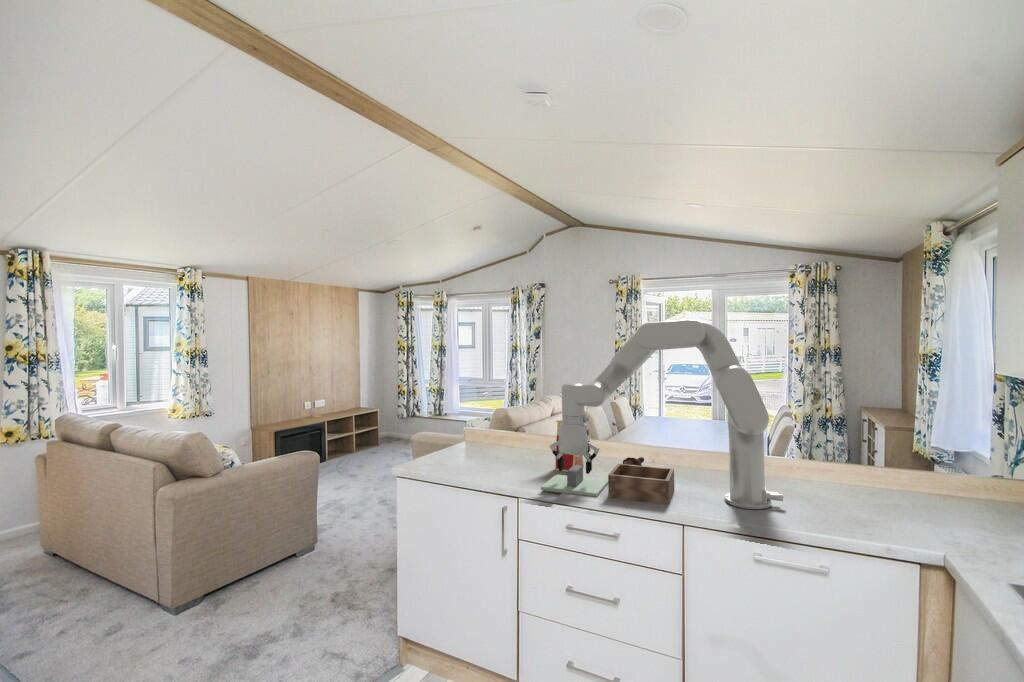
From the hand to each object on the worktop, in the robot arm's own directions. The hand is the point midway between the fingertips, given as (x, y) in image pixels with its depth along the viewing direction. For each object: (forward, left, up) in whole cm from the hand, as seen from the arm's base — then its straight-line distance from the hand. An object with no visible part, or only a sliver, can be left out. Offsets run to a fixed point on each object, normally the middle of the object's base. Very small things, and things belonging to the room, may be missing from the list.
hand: (574, 471), depth 160 cm
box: (-22, 0, -6) cm, 23 cm away
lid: (0, 0, -6) cm, 6 cm away
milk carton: (+10, -23, -6) cm, 26 cm away
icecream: (-15, -22, -6) cm, 27 cm away
